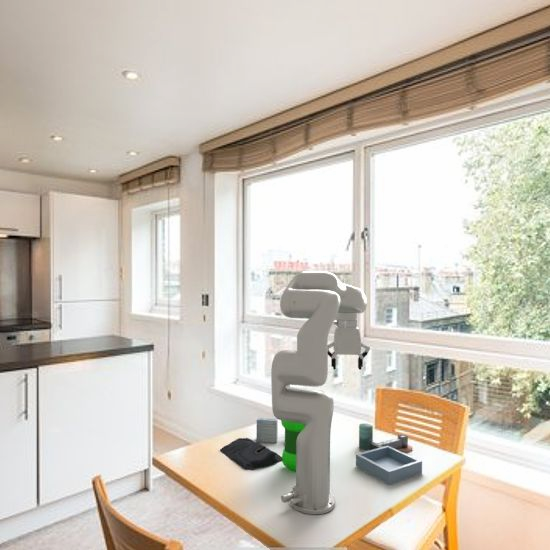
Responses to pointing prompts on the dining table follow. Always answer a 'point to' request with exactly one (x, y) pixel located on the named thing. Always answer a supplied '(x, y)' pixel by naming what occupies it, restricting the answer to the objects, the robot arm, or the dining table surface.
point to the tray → (388, 464)
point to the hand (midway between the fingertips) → (346, 368)
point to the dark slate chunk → (250, 454)
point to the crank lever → (392, 443)
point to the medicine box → (267, 429)
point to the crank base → (406, 449)
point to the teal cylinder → (365, 436)
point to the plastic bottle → (291, 443)
